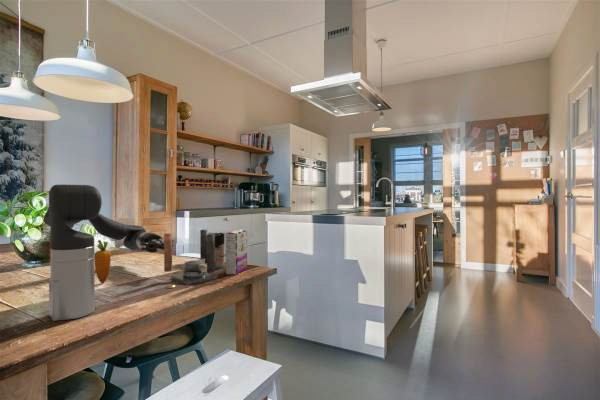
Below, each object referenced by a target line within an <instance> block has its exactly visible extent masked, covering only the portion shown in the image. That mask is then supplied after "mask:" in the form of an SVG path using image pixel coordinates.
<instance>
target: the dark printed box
mask: <svg viewBox="0 0 600 400" xmlns="http://www.w3.org/2000/svg"><path fill="white" fill-rule="evenodd" d="M225 233H226V232H225V231H223V230H212V231H207V235H208V234H215V270H221V269H225V258H226V237H225Z"/></svg>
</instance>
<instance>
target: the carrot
mask: <svg viewBox="0 0 600 400" xmlns="http://www.w3.org/2000/svg"><path fill="white" fill-rule="evenodd" d="M97 243H98V244H97V248H98V249H99V250H97V251H96V252H94V271H95V274H96V277H97V278H98V280H99V282H100V283H101V284H105V282H107V279H108V276H109V274H110V268H111V262H112V261H111V259H112V258H111V257H112V254H111V251H110V250H106V249H107V247H108V245H109V242H108V241H103V242H102V241H101V239H98V240H97Z"/></svg>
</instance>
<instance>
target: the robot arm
mask: <svg viewBox="0 0 600 400" xmlns="http://www.w3.org/2000/svg"><path fill="white" fill-rule="evenodd" d="M102 202H103V201H102V195H101V193H100V190H98V189H97V188H96V187H95V186H93V185H89V184H53V185H51V187H50V189H49V193H48V207H47V209H46V212H45V214H44V216H43V222H44V224H46V225H47V226H48V227H50V277H49V278H48V301H49V302H48V305H49V306H48V310H49V311H48V312H49V313H48V314H49V317H50V319H51V320H52V321H53V322H55V321H65V320H67V321H68V320H72V319H73V320H74V319H78V318H79V319H80V318H82V317H86V316H88V315H91V314H92V313H94V312H95V308H96V306H95V304H96V300H95V299H96V297H95V293H96V292H95V284H96V283H95V279H96V278H95V258H94V255H95V236H94V235H93V234H91V233H87V232H82V231H78V230H76V229H74V226H75V225H76V224H78V223H80V222H82V221H88V222H89V223H90V224H91V226H93V229H94V230H95V231H96V232H97V233H99V235H101V236H103V237H106V238H109V239H112V240H115V241H122V240H123V242H122V245H123V246H124V248H127V249H128V250H139V249H140V250H142V251H144V252H148V253H153V254H154V253H157V252H159V251H164V238H163V237H162V236H161V235H159V234H158V233H154V232H149V231H147V230H146V229H145V228H144V227H143V226H140V225H132V224H130V225H129V224H124V223H122V222H119V221H117V220H113V219H111V218H108V217H106V216H105V215H103V214H101V213H100V211H101V209H102ZM174 241H175V240H174V239H172V248H173V247H174V246H175V245H174Z"/></svg>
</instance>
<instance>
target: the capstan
mask: <svg viewBox="0 0 600 400" xmlns="http://www.w3.org/2000/svg"><path fill="white" fill-rule="evenodd" d="M199 235H200V240H199V242H200V249H199V251H200V252H199V253H200V254H199V255H200V259H197V260H189V261H185V262H184V263H183V262H182V263H173V247H172V240H173V233H169V232H168V233H164V234H163V240H164V250H163V253H164V254H163V255H164V256H163V259H164V260H163V263H164V264H163V265H164V266H163V267H164V268H163V271H164V272H165V273H167V272H168V273H169V272H175V271H183V270H185V271H189V272H194V271H204V272H207V273H211V274H214V273H215V270H216V269H215V234H208V229H200V234H199Z"/></svg>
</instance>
